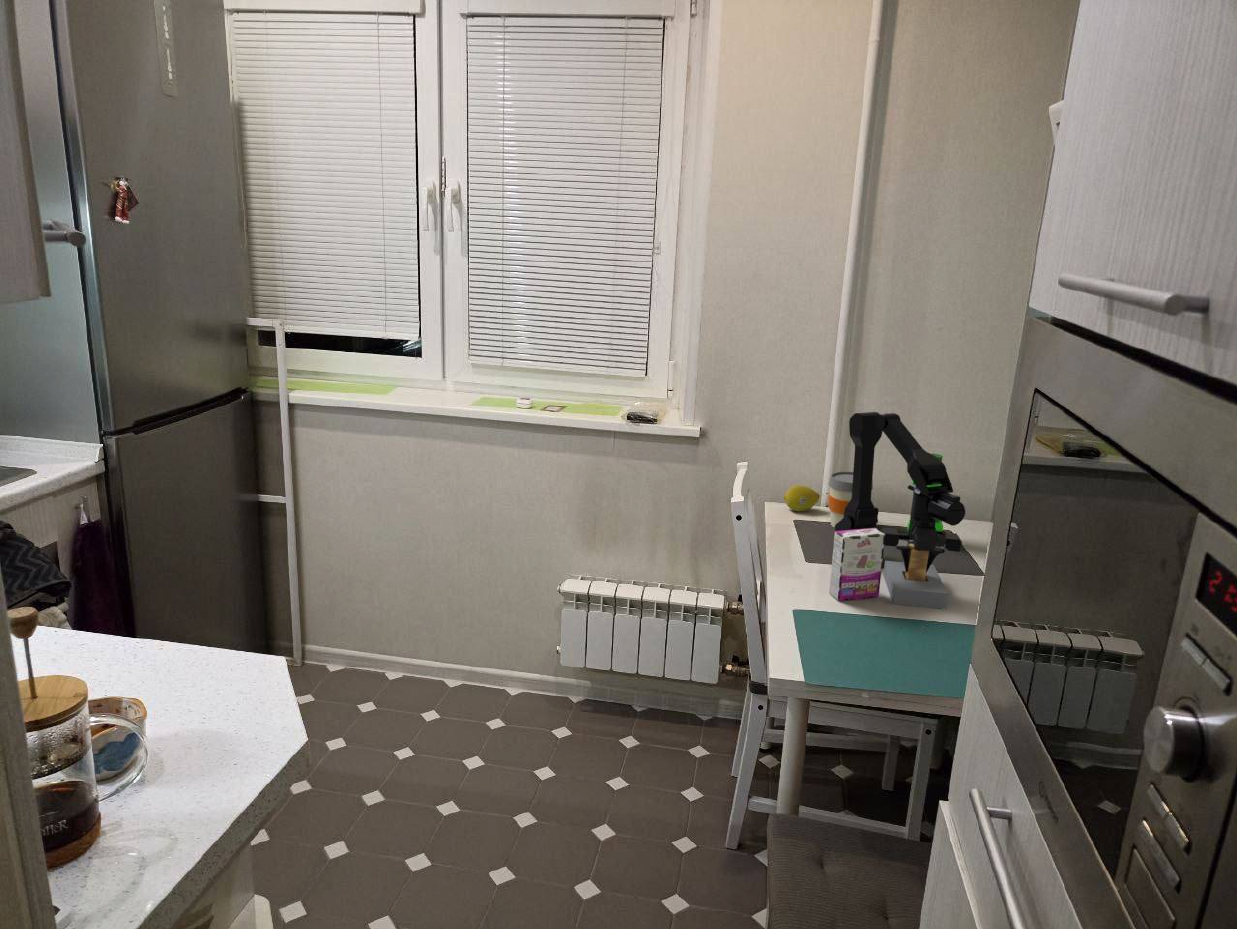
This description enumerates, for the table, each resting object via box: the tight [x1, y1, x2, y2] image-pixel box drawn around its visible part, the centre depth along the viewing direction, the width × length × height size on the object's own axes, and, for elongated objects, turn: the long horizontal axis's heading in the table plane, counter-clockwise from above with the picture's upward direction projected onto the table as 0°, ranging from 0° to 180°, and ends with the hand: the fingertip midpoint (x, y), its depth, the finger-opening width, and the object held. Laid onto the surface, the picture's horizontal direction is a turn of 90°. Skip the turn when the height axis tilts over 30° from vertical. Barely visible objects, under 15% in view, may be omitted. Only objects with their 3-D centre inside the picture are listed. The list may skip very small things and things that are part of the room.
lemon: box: [783, 484, 820, 512], centre depth 279 cm, size 11×8×8 cm
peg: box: [905, 543, 929, 581], centre depth 220 cm, size 4×4×10 cm
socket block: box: [882, 560, 949, 610], centre depth 222 cm, size 12×18×4 cm, turn 171°
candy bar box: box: [829, 527, 885, 602], centre depth 216 cm, size 11×5×16 cm, turn 105°
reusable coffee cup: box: [828, 471, 874, 529], centre depth 266 cm, size 13×13×15 cm
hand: (915, 572), depth 221 cm, fingers closed on peg, 4 cm apart
